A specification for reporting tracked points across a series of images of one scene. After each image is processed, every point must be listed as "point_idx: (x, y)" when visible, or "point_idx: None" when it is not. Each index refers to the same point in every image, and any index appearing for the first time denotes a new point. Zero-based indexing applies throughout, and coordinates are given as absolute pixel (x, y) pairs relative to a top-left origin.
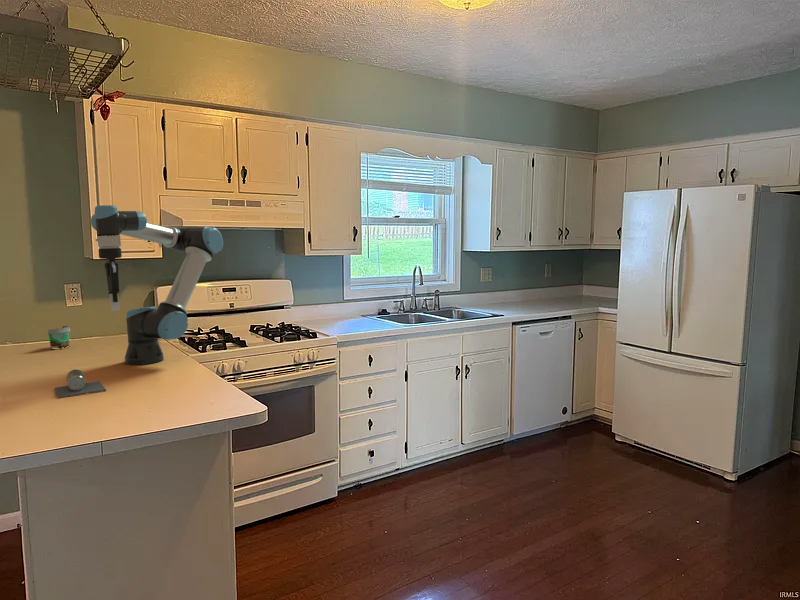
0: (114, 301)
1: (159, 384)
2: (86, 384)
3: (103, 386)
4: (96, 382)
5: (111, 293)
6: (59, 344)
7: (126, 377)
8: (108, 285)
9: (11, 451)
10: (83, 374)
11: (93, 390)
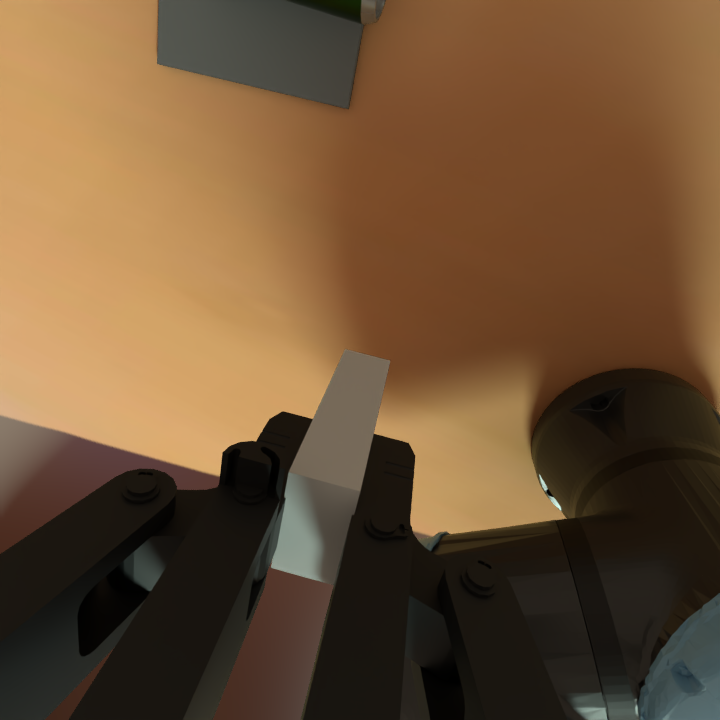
0: (274, 425)
1: (133, 277)
2: (325, 26)
3: (220, 77)
4: (330, 85)
5: (241, 477)
6: None
7: (358, 245)
8: (470, 662)
9: None
10: (326, 6)
11: (171, 6)
